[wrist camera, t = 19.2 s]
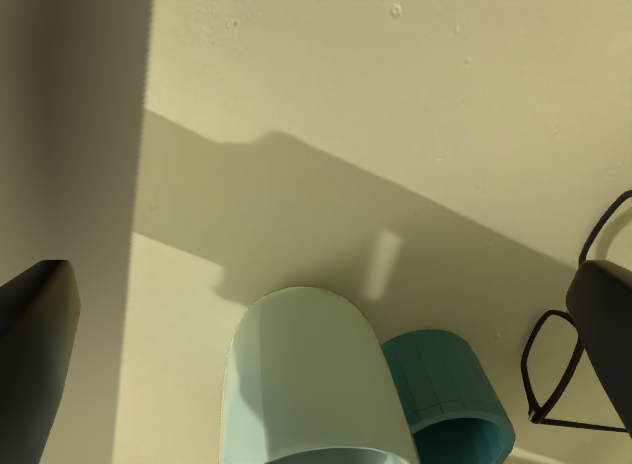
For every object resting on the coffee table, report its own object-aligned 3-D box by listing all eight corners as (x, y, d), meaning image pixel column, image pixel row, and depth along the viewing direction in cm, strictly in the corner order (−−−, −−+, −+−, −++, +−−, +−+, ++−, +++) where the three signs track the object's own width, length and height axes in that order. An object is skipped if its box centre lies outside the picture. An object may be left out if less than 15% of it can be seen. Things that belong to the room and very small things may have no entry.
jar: (335, 375, 30) (352, 461, 25) (435, 309, 28) (473, 389, 23) (400, 424, 33) (427, 507, 29) (493, 369, 31) (537, 448, 27)
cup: (238, 251, 24) (239, 437, 16) (387, 273, 26) (458, 448, 18) (212, 363, 28) (201, 559, 20) (343, 375, 30) (384, 557, 21)
